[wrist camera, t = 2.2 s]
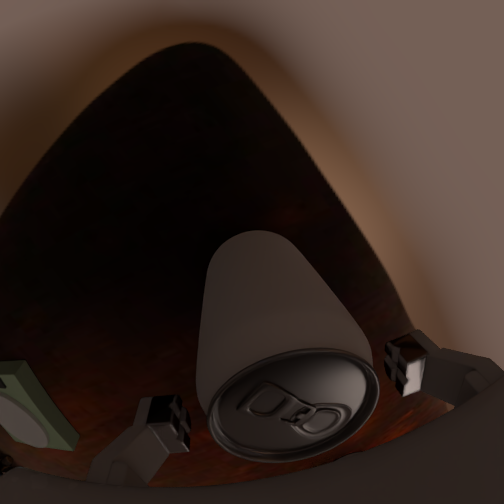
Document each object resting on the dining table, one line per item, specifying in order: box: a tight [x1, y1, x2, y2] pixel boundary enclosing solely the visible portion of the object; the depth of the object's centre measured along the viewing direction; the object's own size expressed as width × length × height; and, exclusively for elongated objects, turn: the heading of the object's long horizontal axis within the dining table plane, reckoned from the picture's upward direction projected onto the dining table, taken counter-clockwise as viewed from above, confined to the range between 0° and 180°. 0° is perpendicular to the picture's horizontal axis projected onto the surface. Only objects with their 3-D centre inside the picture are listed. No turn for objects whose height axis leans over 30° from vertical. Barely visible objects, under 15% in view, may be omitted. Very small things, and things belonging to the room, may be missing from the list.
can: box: [196, 230, 380, 463], centre depth 14 cm, size 6×6×12 cm
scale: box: [0, 360, 80, 451], centre depth 20 cm, size 11×11×3 cm
